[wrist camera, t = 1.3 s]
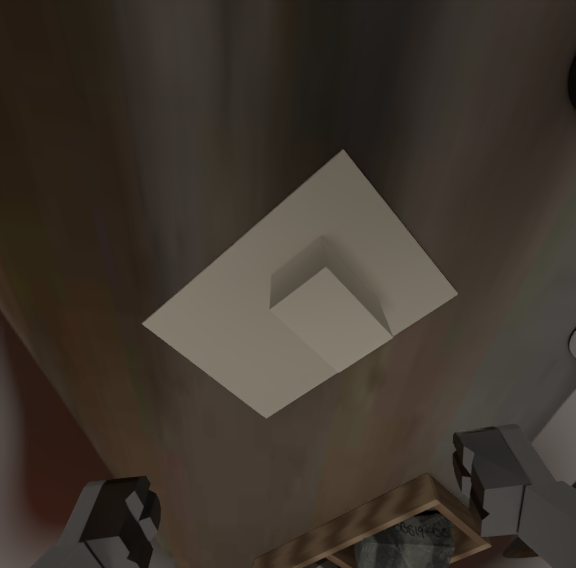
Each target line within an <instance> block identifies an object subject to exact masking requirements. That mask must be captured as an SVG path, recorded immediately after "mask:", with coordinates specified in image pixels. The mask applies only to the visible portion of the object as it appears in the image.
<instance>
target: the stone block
mask: <svg viewBox="0 0 576 568" xmlns="http://www.w3.org/2000/svg"><path fill="white" fill-rule="evenodd" d="M454 549H455V544H454V541H453V538H452V534H451V531H450V527H449V523H448V520H447V518H446V517H445V516H444V515H443V514H440V513H439V514H437V513H435V514H431V515H430V514H426V515H417V516H412V517H410V518H408V519H406V520H404V521H402V522H399V523H397V524H395V525H393V526H391V527H389V528H387V529H384V530H382V531H380V532H378V533H376V534H374V535H372V536H369V537H367V538H363V540H361V541H359V542H357V543H354V551H355V558H356V564H357V568H448V566H449V564H450V561H451V558H452V555H453V552H454Z"/></svg>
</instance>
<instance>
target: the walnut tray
mask: <svg viewBox="0 0 576 568" xmlns="http://www.w3.org/2000/svg"><path fill="white" fill-rule="evenodd" d="M431 507H434V508H435V509H437V510H438V511H439V512H440V513H441V514H443V515H444V516H445V517H446V518H447V519H449V520H450V521H451V522H452V523H453V524H455V525H456V526H455V527H452V528H450V531H451V534H452V538H453V541H454V544H455V549H454V552H453V555H452V558H451V561H450V563H452V562H455V561H457V560H460V559H462V558H465V557H467V556H469V555H472V554H474V553H477V552H479V551H482V550H484V549H486V548H489V547H491V544H490V541H489V539H488V537H481V536H480V534H479V532H478V529H477V527H476V525H475V522H474V520H473V518H472V515H471V513H470V511H469V509H468V508H466V507H465V506H464V505H463V504H462V503H461V502H460V501H459V500H457V499H456V498H455V497H454V496H453V495H452V494H451V493H449V492H448V491H447V490H446V489H445V488H444V487H443V486H442V485H440V484H439V483H438V482H437V481H436V480H435V479H434V478H432V477H431V476H430V475H429V474H428V473H426V474H424V475H422V476H420V477H418V478H416V479H414V480H412V481H410V482H408V483H406V484H404V485H402V486H400V487H398V488H396V489H394V490H392V491H390V492H388V493H386V494H384V495H382V496H380V497H378V498H376V499H374V500H372V501H370V502H368V503H366V504H364V505H362V506H360V507H358V508H356V509H354V510H352V511H350V512H348V513H346V514H344V515H342V516H340V517H338V518H336V519H334V520H332V521H330V522H328V523H326V524H324V525H322V526H320V527H318V528H316V529H314V530H312V531H310V532H308V533H306V534H304V535H302V536H300V537H298V538H296V539H294V540H292V541H290V542H288V543H286V544H284V545H282V546H280V547H278V548H276V549H274V550H272V551H270V552H268V553H266V554H264V555H262V556H260V557H258V558H256V559H254V568H303V567H305V566H307V565H310V564H312V563H314V562H316V561H318V560H320V559H322V558H327V559H329V560H330V561H332V562H333V563H335V564H337V565H338V566H340V567H341V568H357V564H356V558H355V551H354V543H357V542H359V541H361V540H363V538H367V537H369V536H372V535H374V534H376V533H378V532H380V531H382V530H384V529H387V528H389V527H391V526H393V525H395V524H397V523H399V522H402V521H404V520H406V519H408V518H410V517H412V516H414V515H416V514H419V513H421V512H423V511H425V510H427V509H429V508H431Z"/></svg>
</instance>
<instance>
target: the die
mask: <svg viewBox="0 0 576 568" xmlns="http://www.w3.org/2000/svg"><path fill="white" fill-rule="evenodd" d="M303 568H338V566H337V564H335V563H333V562H332V561H330V560H329V559H327V558H322V559H320V560H318V561H316V562H314V563H312V564H310V565H307V566H305V567H303Z"/></svg>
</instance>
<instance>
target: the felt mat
mask: <svg viewBox="0 0 576 568" xmlns="http://www.w3.org/2000/svg"><path fill="white" fill-rule="evenodd" d="M318 237H321V238H322V239H323V240H324V241H325V242H326V243H327V244H328V245H329V246H330V247H331V249H332V250H333V251H334V252H335V253H336V254H337V255H338V256H339V257H340V258H341V259H342V261H343V262H344V263H345V264H346V265H347V266H348V267H349V268H350V269H351V270H352V271H353V273H354V274H355V275H356V276H357V277H358V278H359V279H360V280H361V281H362V282H363V283H364V285H365V286H366V287H367V288H368V289H369V290H370V291H371V292H372V293H373V294H374V295H375V297H376V298H377V299H378V300H379V301H380V304H381V307H382V309H383V312H384V314H385V317H386V320H387V322H388V325H389V327H390V330H391V333H392V335H393V336H394V335H396V334H398V333H399V332H401V331H402V330H404V329H405V328H407V327H408V326H410V325H411V324H413V323H415V322H416V321H418V320H419V319H421V318H422V317H424V316H425V315H427V314H428V313H430V312H432V311H433V310H435V309H436V308H438V307H439V306H441V305H442V304H444V303H445V302H447V301H449V300H450V299H452V298H453V297H455V296H456V295H458V293H457V292H456V290H455V289H454V288H453V287H452V285H451V284H450V283H449V282H448V280H447V279H446V278H445V277H444V275H443V274H442V273H441V272H440V270H439V269H438V268H437V267H436V265H435V264H434V263H433V262H432V260H431V259H430V258H429V256H428V255H427V254H426V253H425V251H424V250H423V249H422V248H421V246H420V245H419V244H418V243H417V241H416V240H415V239H414V238H413V236H412V235H411V234H410V233H409V231H408V230H407V229H406V228H405V226H404V225H403V224H402V222H401V221H400V220H399V219H398V217H397V216H396V215H395V214H394V212H393V211H392V210H391V209H390V207H389V206H388V205H387V204H386V202H385V201H384V200H383V199H382V197H381V196H380V195H379V194H378V192H377V191H376V190H375V188H374V187H373V186H372V185H371V183H370V182H369V181H368V180H367V178H366V177H365V176H364V175H363V173H362V172H361V171H360V170H359V168H358V167H357V166H356V165H355V163H354V162H353V161H352V160H351V158H350V157H349V156H348V154H347V153H346V152H345V151H344V149H342V150H341V151H339V152H338V153H337V154H336V155H335V156H334V157H333V158H331V159H330V160H329V161H328V162H327V163H326V164H324V165H323V166H322V167H321V168H320V169H319V170H318V171H316V172H315V173H314V174H313V175H312V176H311V177H309V178H308V179H307V180H306V181H305V182H304V183H303V184H301V185H300V186H299V187H298V188H297V189H296V190H295V191H293V192H292V193H291V194H290V195H289V196H288V197H286V198H285V199H284V200H283V201H282V202H281V203H280V204H278V205H277V206H276V207H275V208H274V209H273V210H271V211H270V212H269V213H268V214H267V215H266V216H265V217H263V218H262V219H261V220H260V221H259V222H258V223H256V224H255V225H254V226H253V227H252V228H251V229H250V230H248V231H247V232H246V233H245V234H244V235H243V236H241V237H240V238H239V239H238V240H237V241H236V242H235V243H233V244H232V245H231V246H230V247H229V248H228V249H226V250H225V251H224V252H223V253H222V254H221V255H220V256H218V257H217V258H216V259H215V260H214V261H213V262H211V263H210V264H209V265H208V266H207V267H206V268H205V269H203V270H202V271H201V272H200V273H199V274H198V275H196V276H195V277H194V278H193V279H192V280H191V281H190V282H188V283H187V284H186V285H185V286H184V287H183V288H181V289H180V290H179V291H178V292H177V293H176V294H175V295H173V296H172V297H171V298H170V299H169V300H168V301H167V302H165V303H164V304H163V305H162V306H161V307H160V308H158V309H157V310H156V311H155V312H154V313H153V314H152V315H150V316H149V317H148V318H147V319H146V320H145V321H143V323H142V324H143V325H144V326H145V327H147V328H148V329H149V330H151V331H152V332H153V333H155V334H156V335H157V336H159V337H160V338H161V339H162V340H164V341H165V342H166V343H168V344H169V345H170V346H172V347H173V348H174V349H176V350H177V351H178V352H180V353H181V354H182V355H183V356H185V357H186V358H187V359H189V360H190V361H191V362H193V363H194V364H195V365H197V366H198V367H199V368H200V369H202V370H203V371H204V372H206V373H207V374H208V375H210V376H211V377H212V378H214V379H215V380H216V381H218V382H219V383H220V384H221V385H223V386H224V387H225V388H227V389H228V390H229V391H231V392H232V393H233V394H235V395H236V396H237V397H238V398H240V399H241V400H242V401H244V402H245V403H246V404H248V405H249V406H250V407H252V408H253V409H254V410H256V411H257V412H258V413H259V414H261V415H262V416H263V417H265V418H268V417H269V416H271V415H272V414H274V413H276V412H277V411H279V410H280V409H282V408H283V407H285V406H286V405H288V404H289V403H291V402H293V401H294V400H296V399H297V398H299V397H300V396H302V395H303V394H305V393H306V392H308V391H310V390H311V389H313V388H314V387H316V386H317V385H319V384H320V383H322V382H323V381H325V380H327V379H328V378H330V377H331V376H333V375H334V374H336V373H337V371H336V370H335V369H334V368H333V367H331V366H330V365H329V364H328V363H327V362H326V361H325V360H324V359H323V358H322V357H321V356H319V355H318V354H317V353H316V352H315V351H314V350H313V349H312V348H311V347H310V346H309V345H307V344H306V343H305V342H304V341H303V340H302V339H301V338H300V337H299V336H298V335H296V334H295V333H294V332H293V331H292V330H291V329H290V328H289V327H288V326H287V325H286V324H284V323H283V322H282V321H281V320H280V319H279V318H278V317H277V316H276V315H275V314H274V313H272V312H271V311H270V310H269V309H270V290H271V275H272V274H273V273H274V272H276V271H277V270H278V269H279V268H281V267H282V266H283V265H284V264H286V263H287V262H288V261H289V260H291V259H292V258H293V257H295V256H296V255H297V254H298V253H300V252H301V251H302V250H303V249H305V248H306V247H307V246H308V245H310V244H311V243H312V242H313V241H315V240H316V239H317V238H318Z"/></svg>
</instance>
